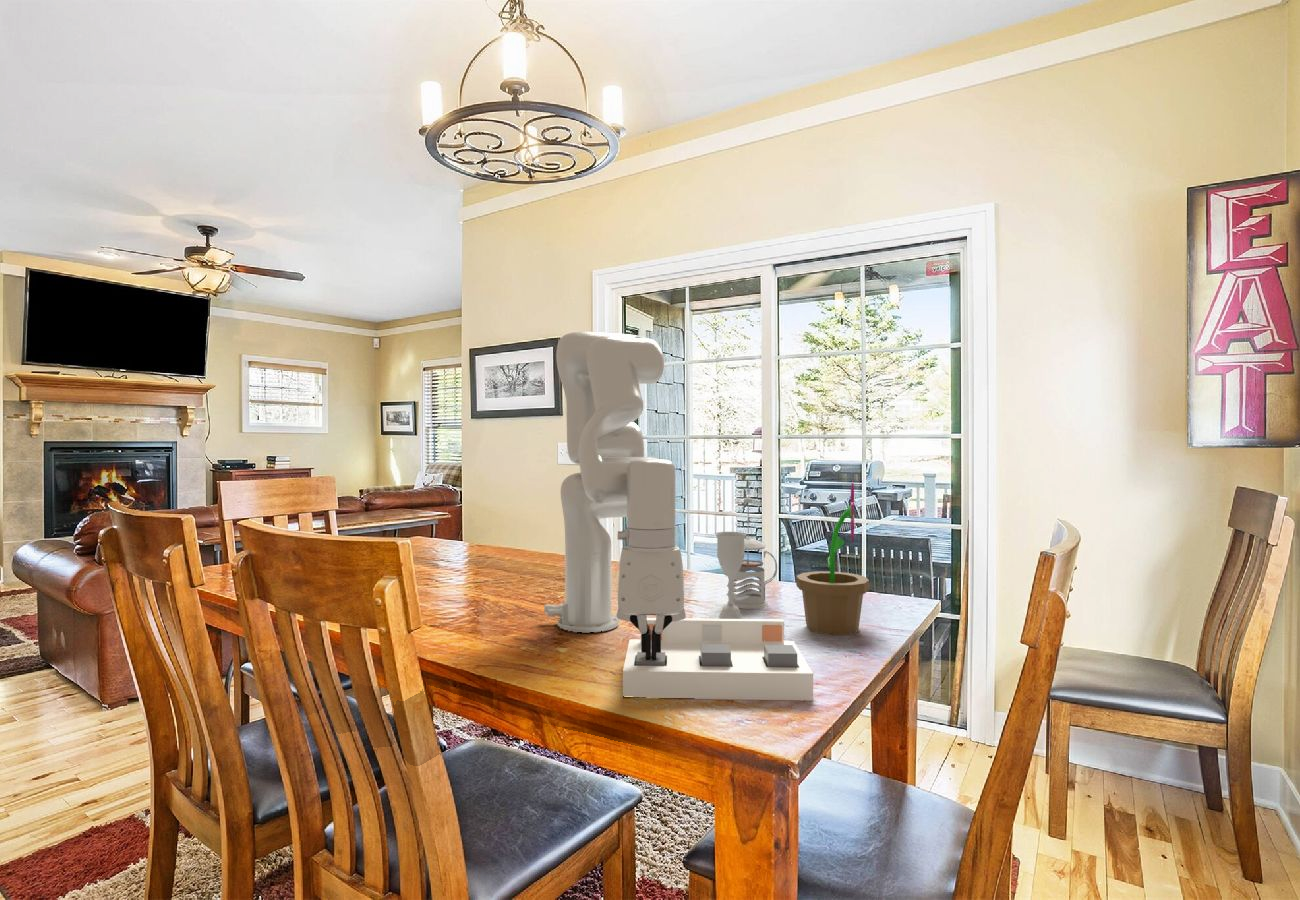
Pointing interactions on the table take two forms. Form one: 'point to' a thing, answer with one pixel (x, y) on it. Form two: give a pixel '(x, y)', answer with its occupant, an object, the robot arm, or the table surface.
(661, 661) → the button left
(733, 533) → the chalice
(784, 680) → the button board
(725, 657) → the button middle
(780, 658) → the button right
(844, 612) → the flowerpot
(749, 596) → the french press
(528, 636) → the table surface
